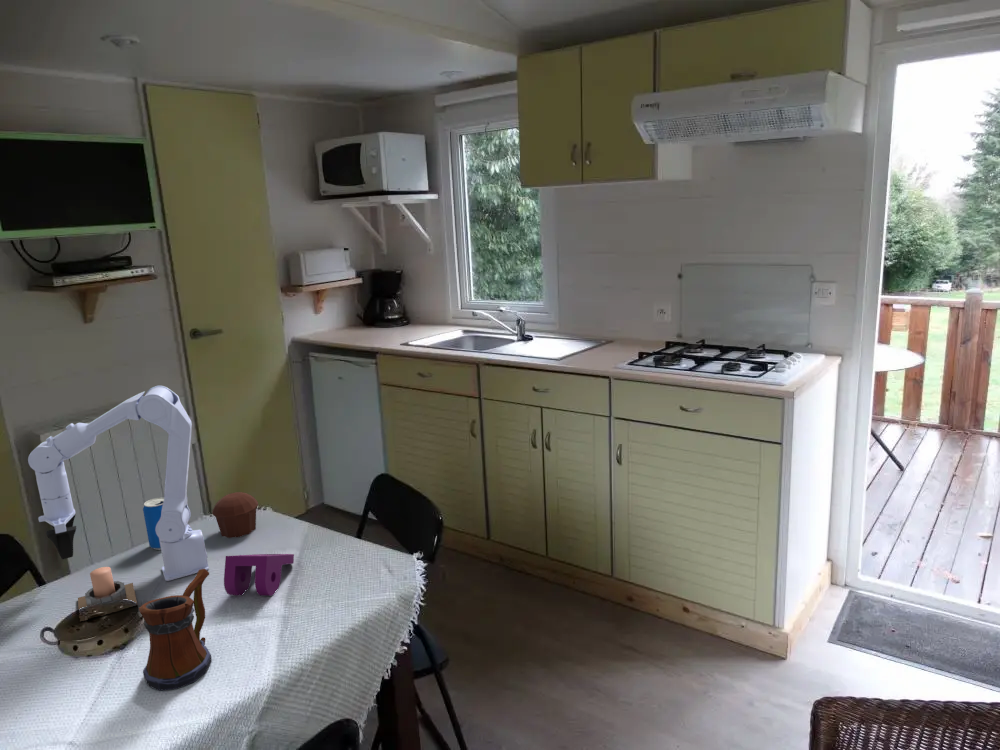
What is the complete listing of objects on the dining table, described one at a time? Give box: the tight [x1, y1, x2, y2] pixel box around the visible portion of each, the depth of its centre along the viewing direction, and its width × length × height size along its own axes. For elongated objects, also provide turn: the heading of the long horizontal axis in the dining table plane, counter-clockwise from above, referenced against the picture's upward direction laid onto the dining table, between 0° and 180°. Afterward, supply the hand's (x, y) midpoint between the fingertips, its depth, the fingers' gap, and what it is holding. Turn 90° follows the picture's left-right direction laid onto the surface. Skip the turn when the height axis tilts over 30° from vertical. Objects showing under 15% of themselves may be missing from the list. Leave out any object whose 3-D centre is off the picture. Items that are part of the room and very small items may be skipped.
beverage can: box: [142, 496, 164, 551], centre depth 183 cm, size 6×6×12 cm
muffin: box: [211, 491, 259, 539], centre depth 190 cm, size 12×11×10 cm
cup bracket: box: [77, 580, 138, 609], centre depth 157 cm, size 11×11×3 cm
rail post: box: [89, 566, 116, 598], centre depth 156 cm, size 4×4×7 cm
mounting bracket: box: [223, 553, 295, 597], centre depth 163 cm, size 9×8×18 cm
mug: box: [138, 569, 213, 692], centre depth 133 cm, size 18×12×15 cm, turn 171°
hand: (67, 551), depth 162 cm, fingers open, 7 cm apart
